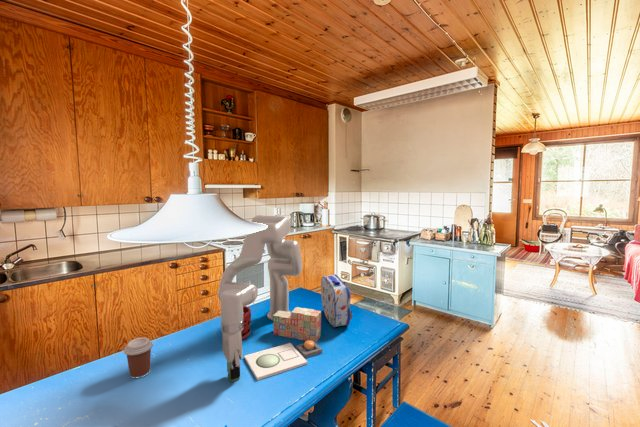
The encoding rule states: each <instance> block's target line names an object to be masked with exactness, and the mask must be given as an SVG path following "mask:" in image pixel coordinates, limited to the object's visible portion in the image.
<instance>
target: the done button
mask: <svg viewBox="0 0 640 427" xmlns="http://www.w3.org/2000/svg"><path fill="white" fill-rule="evenodd" d="M303 343H304V348H305V349H304V350H305V351H311V350H315V349H314V342H313V341H311V340H308V341H304V342H303Z"/></svg>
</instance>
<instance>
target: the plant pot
mask: <svg viewBox="0 0 640 427" xmlns="http://www.w3.org/2000/svg"><path fill="white" fill-rule="evenodd" d="M251 322H252V309H251V308H250V307H249V306H248V305H247V306H245V307H243V330H242V331H241V336H242V340H244V339H246V338H248V337H249V336H250V334H251V332H252V331H251V328H250V326H251V324H252V323H251Z"/></svg>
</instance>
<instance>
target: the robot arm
mask: <svg viewBox="0 0 640 427" xmlns="http://www.w3.org/2000/svg"><path fill="white" fill-rule="evenodd" d="M252 222H257V223H263V224H266V225H268V228H267V229H266V230H263V231H259V232H256V233H253V234H250V235H246V234H245V237H244V240H243V243H242V247H241V251H240V254H239V256H238V257H236V258H235V259H234V260H233V261H231V263H230V264H229V265H228V266H227V267H226V268H225V270H224V271H223V273H222V275H221V279H220V281H219V285H218V289H217V297H218V300H219V301H220V330H221V331H220V332H221V333H222V343H221V344H222V347H221V348H222V354H223V355H224V358H225V360H226V366H227V367H226V368H227V369H226V370H227V371H226V372H227V373H228V364H227V362H228V363H230V362H231V368H230V376H231V380H233V379H236V378H239V377H240V378H241V362H240V361H241V360H242V359H243V339H242V336H241V331H242V330H243V314H244V312H243V307H245V306H247V307H248V306H250V305H251V304H252V303H254V302H255V301H256V300H257V297H258V296H259V295H258V293H259V291H258V288H257V286H256V285H255V284H253V283H247V282H237V281H236V282H235V281H233V280H234V278H235V277H236V275H238V274H239V273H240V272H241V271H244V270H245V269H248V268H250V267H252V266H256V265H258V264H260V263H261V262H262V258H263V255H264V249H265V247H266V251H267V254H268V256H269V257H270V258H269V260H268V261H267V270H268V276H269V310H270V311H268V312H267V314H266V316H267V317H266V318H267V319H268V320H271V321H273V315H274V314H276V313H277V312H278V311H279V310H280V311H286V312H291V310H290V309H289V304H290V302H289V300H290V299H289V298H290V296H289V288H290V287H289V286H290V285H289V281H288V279H287V277H298V276H300V275H301V274H302V271H303V262H302V255H301V247H300V244H299V242H298V241H297V240H294V239H285V238H286V237H287V235H288V234H290V230H291V220H290V219H289V218H288V217H287V216H279V215H262V214H260V215H258V214H257V215H256V216H254V217H252V220H251V223H252ZM286 276H287V277H286ZM234 358H235V359H234ZM233 362H235V364H234V365H233ZM240 378H239V379H240Z"/></svg>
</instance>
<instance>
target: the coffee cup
mask: <svg viewBox="0 0 640 427" xmlns="http://www.w3.org/2000/svg"><path fill="white" fill-rule="evenodd" d="M153 343H154V342H152V341H151V340H150V339H149V338H148V337H143V336H142V337H138V338H134V339H131V340H130V341H129V342H127V343H126V346H125V347H124V349H123V353H124V355H126V359H127V366H128V372H129V377H130V376H131V377H134V378H136V377H142V376H144V375H146V374H147V373H149V374H150V372H151V358H152V357H151V354H152V353H151V352H152V348H153V346H154V344H153ZM149 371H150V372H149ZM147 375H148V374H147ZM147 375H146V376H147ZM131 377H130V378H131ZM144 377H145V376H144ZM142 378H143V377H142Z"/></svg>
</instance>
